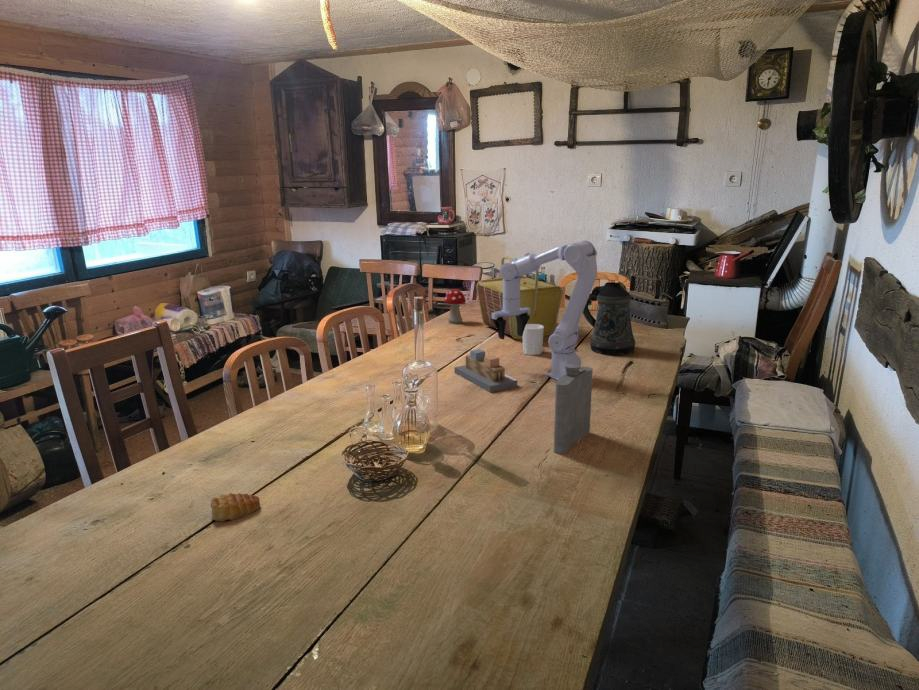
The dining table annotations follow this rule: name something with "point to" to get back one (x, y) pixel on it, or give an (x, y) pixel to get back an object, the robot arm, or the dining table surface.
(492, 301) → the picnic basket
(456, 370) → the dock
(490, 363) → the pink square block
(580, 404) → the hip flask
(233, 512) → the pastry
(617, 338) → the beer stein
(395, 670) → the dining table surface
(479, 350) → the blue-grey square block
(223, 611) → the dining table surface
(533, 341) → the white cup
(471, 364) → the brown notched bar
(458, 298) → the decorative mushroom
